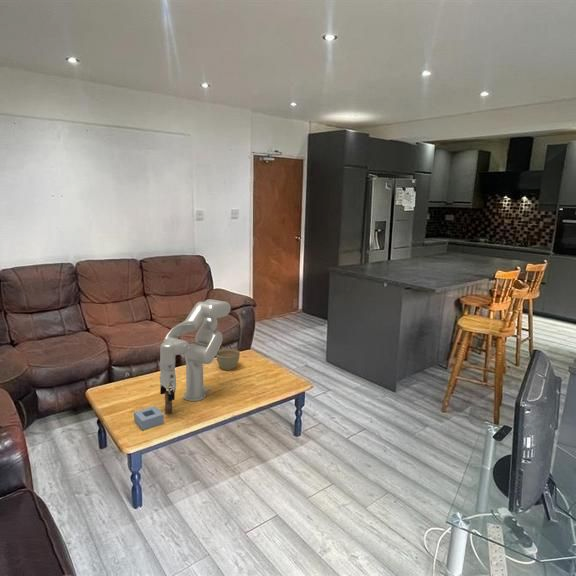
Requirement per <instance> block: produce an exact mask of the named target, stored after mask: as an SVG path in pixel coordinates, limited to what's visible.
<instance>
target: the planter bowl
mask: <svg viewBox="0 0 576 576" xmlns="http://www.w3.org/2000/svg"><path fill="white" fill-rule="evenodd" d="M240 355H241V352H240V351H239V350H238V349H235V348H223V349H219V350H218V352H217V354H216V356H215V357H216V361H217V363H218V365H219V366H220V368H222V369H221V370H223V369H224V371H232V370H234V369H235V368H236V365H238V362H239V360H240ZM231 369H232V370H231Z"/></svg>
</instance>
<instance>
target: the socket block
mask: <svg viewBox="0 0 576 576" xmlns="http://www.w3.org/2000/svg"><path fill="white" fill-rule="evenodd" d="M164 414H165V413H163V412H162V411H161V410H160V409H159V408H158V407H157V406H156V405H154V406H149V407H146V408H142V409H139V410H136V411H133V421H134V423H135V424H136V425H137V426H138V427H139V428H140V430H141V431H145V430H149V429H151V428H154V427H158V426H161V425H163V424H164V423H165V422H164V421H165V415H164Z"/></svg>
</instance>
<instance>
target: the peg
mask: <svg viewBox="0 0 576 576" xmlns="http://www.w3.org/2000/svg"><path fill="white" fill-rule="evenodd" d="M168 394H169V391H168V390H167V391H165V394H164V409H165V410H164V411H165V413H164V414H165V415H167V416H169V415H172V414H173V400H172V401H168Z"/></svg>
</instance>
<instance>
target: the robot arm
mask: <svg viewBox="0 0 576 576" xmlns="http://www.w3.org/2000/svg"><path fill="white" fill-rule="evenodd" d="M230 312H231V304H230V303H229V302H227V301H223V300H217V299H211V298H210V299H206V300H205V301H198V302H197V303H196V304H194V306H193V308H192V309H191V311H190V312H189V314H188V315H187V317H186V319H185V320H184V321H182V322H179V323H178V324H177V325H175V326H173V327H172V328H171V329H170V330H169V332H167V334H166V336H165V337H164V339H163V341H162V343H161V344H160V347H159V348H160V350H159V351H160V352H159V354H160V357H159V360H160V361H159V370H160V374H159V383H160V384H159V386H160V387H159V388H160V392H159V393H160V395H165V391H169V394H168V401H172V402H173V401H175V400H176V399H175V398H176V397H175V393H176V388H177V376H176V370H175V369H176V356H179V355H184V356H183V357H184V359H185V373H186V375H185V377H186V379H185V381H186V382H185V385H186V386H185V387H186V388H185V389H186V390H185V393H184V394H183V399H185V400H186V401H189V402H197V401H198V402H199V401H203V400H205V398H206V396H207V393H206V392H208V391H212V388H211V387H210V386H208V387H207V386H204V365H210V364H212V362H213V361H214V359H215V357H216V354H217V352H218V351H219V350H220V348H221V346H222V343H223V339H224V338H223V334H222V333H221V332H220V331H219V330H217V328H218V320H217V319H220V318H224V317H226V316H228V315H229V314H230ZM195 331H197V332H196V334H195V338H194V340H195V343H189V342H188V341H187V340H184V339H181V338H179V337H180V336H182V335H184V334H187V333H191V332H195Z"/></svg>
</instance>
